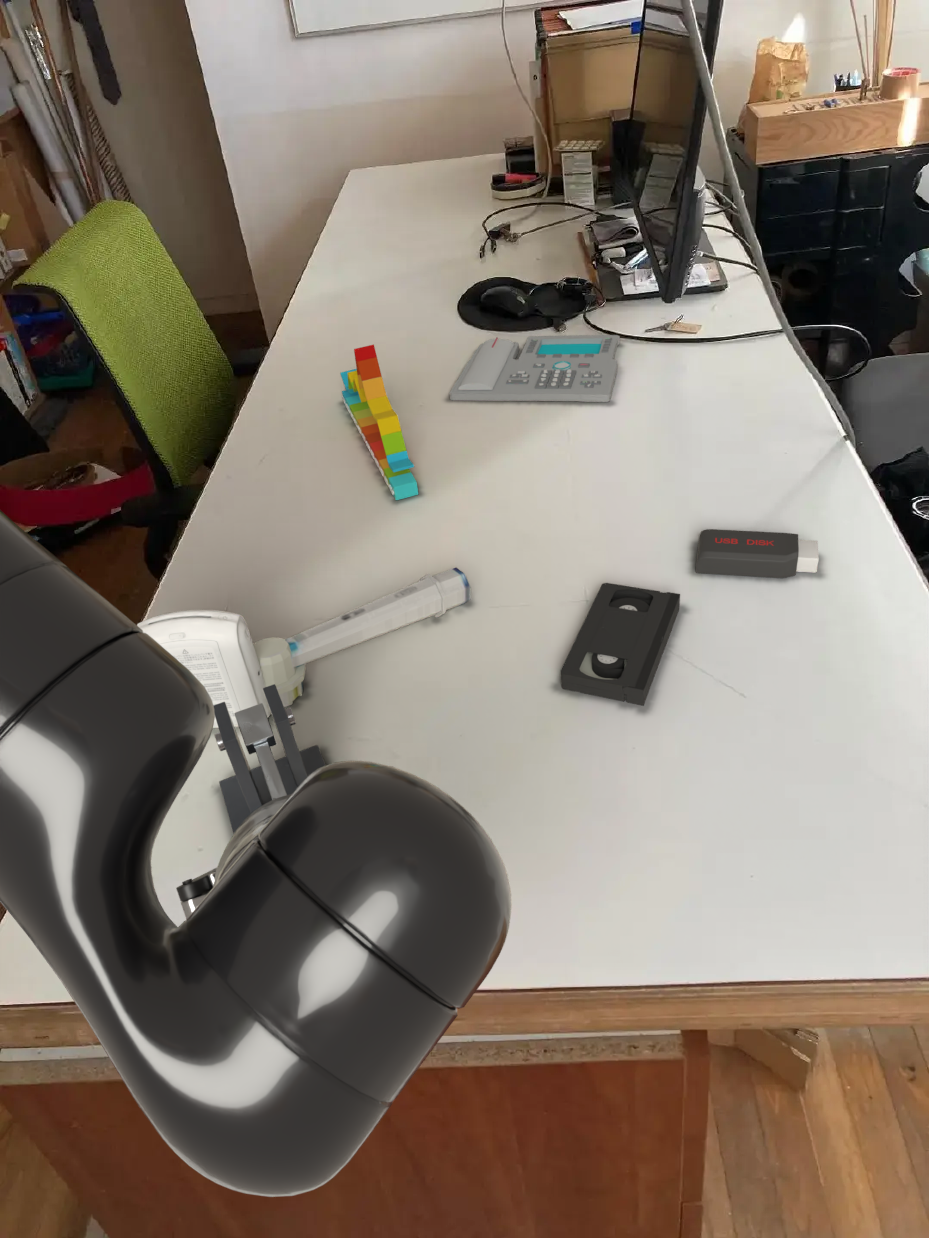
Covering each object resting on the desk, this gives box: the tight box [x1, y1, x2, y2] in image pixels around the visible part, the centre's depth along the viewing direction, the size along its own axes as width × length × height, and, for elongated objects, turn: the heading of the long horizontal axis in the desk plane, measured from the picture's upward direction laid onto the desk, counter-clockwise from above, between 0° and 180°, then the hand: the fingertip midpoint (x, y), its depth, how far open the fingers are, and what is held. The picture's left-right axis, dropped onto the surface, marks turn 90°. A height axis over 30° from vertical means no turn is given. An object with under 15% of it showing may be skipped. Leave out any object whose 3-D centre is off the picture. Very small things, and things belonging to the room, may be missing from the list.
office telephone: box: [448, 334, 621, 403], centre depth 139 cm, size 23×3×20 cm
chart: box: [339, 344, 419, 501], centre depth 122 cm, size 30×3×15 cm, turn 18°
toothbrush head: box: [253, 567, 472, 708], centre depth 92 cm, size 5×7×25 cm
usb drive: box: [695, 528, 820, 579], centre depth 97 cm, size 5×12×3 cm, turn 76°
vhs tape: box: [560, 582, 681, 706], centre depth 89 cm, size 14×8×2 cm, turn 157°
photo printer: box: [136, 609, 272, 729], centre depth 85 cm, size 10×4×12 cm, turn 90°
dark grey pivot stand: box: [213, 684, 327, 835], centre depth 74 cm, size 12×9×13 cm
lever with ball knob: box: [234, 703, 287, 800], centre depth 69 cm, size 13×3×3 cm, turn 22°
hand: (296, 848), depth 57 cm, fingers closed
